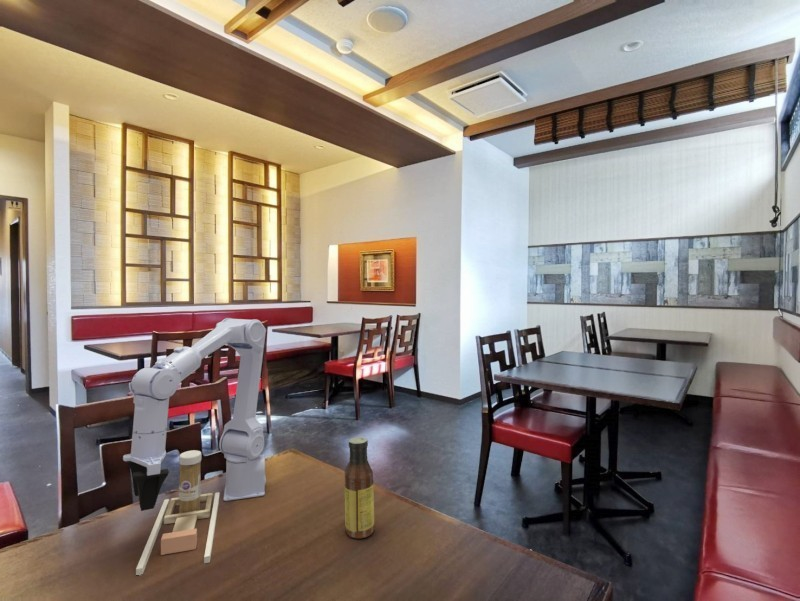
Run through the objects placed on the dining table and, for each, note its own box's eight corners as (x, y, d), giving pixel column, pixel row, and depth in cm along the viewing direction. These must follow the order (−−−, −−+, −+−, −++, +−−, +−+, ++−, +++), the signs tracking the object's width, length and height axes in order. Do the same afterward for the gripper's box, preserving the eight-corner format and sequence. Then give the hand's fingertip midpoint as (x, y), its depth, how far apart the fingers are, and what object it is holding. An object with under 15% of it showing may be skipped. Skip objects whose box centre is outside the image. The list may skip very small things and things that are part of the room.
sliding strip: (212, 498, 101) (213, 486, 101) (203, 547, 82) (204, 532, 81) (171, 504, 98) (171, 491, 98) (151, 556, 78) (152, 541, 78)
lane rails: (219, 496, 102) (219, 492, 102) (209, 562, 77) (210, 555, 77) (164, 504, 98) (164, 499, 98) (135, 575, 73) (136, 569, 73)
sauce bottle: (376, 524, 91) (378, 435, 91) (371, 541, 85) (373, 445, 84) (347, 522, 92) (348, 433, 91) (340, 539, 85) (342, 444, 85)
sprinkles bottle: (176, 517, 92) (177, 458, 92) (180, 507, 97) (181, 450, 96) (199, 514, 94) (199, 456, 93) (202, 504, 98) (203, 448, 98)
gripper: (121, 424, 83) (115, 493, 83) (130, 442, 72) (123, 522, 71) (160, 420, 88) (155, 485, 87) (175, 437, 77) (169, 511, 76)
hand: (144, 501), depth 80 cm, fingers open, 7 cm apart
